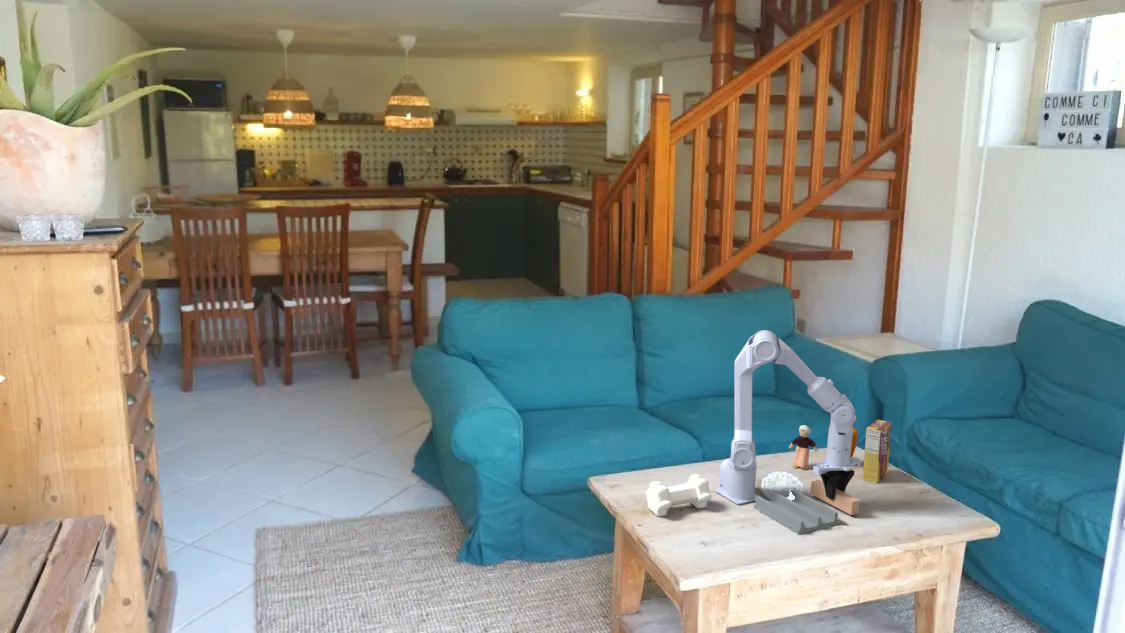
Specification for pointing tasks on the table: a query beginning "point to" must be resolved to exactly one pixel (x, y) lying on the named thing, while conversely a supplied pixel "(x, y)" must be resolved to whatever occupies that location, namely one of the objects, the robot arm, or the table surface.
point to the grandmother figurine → (802, 448)
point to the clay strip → (836, 498)
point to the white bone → (678, 495)
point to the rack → (797, 512)
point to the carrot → (853, 441)
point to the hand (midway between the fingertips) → (834, 496)
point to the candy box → (876, 451)
